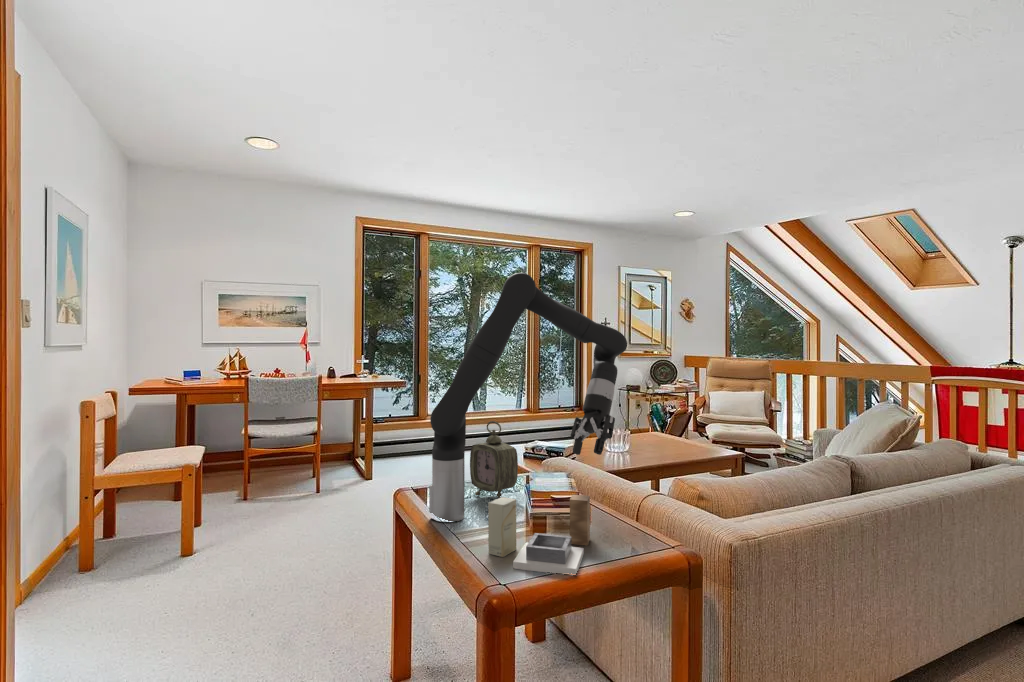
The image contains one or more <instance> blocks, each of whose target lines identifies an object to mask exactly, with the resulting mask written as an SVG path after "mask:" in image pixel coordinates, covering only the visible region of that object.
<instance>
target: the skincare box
mask: <svg viewBox="0 0 1024 682" xmlns="http://www.w3.org/2000/svg"><path fill="white" fill-rule="evenodd" d="M487 504H488V516H487V519H488V529H487V531H488V536H487V537H488V554H489V555H493V556H497V557H500V558H504V557H506V556H508V555H509V554H511V553H512V552H514V551H516V550H517V499H515V498H510V497H504V496H501V497H500V498H498V497H497V498H496V499H493V500H491V501H489V502H488V503H487Z"/></svg>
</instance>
